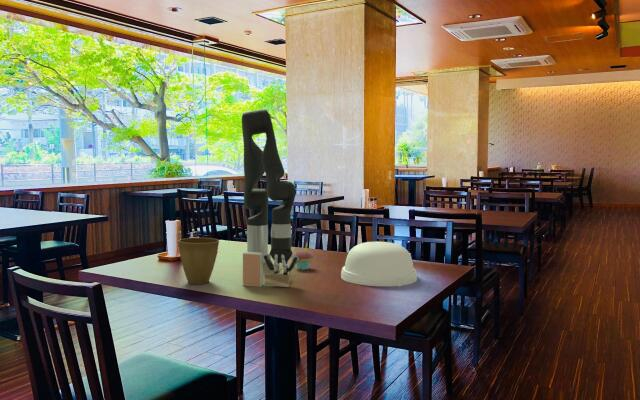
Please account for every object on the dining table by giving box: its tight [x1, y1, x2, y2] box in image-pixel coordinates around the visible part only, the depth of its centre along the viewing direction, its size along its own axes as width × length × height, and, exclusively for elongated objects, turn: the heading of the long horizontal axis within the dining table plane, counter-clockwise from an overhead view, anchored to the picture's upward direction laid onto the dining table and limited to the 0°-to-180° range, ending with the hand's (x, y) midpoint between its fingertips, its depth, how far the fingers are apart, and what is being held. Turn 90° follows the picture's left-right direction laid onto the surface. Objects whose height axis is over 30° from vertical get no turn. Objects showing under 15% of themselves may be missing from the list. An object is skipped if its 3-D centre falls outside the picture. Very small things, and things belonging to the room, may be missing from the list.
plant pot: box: [177, 237, 220, 285], centre depth 195 cm, size 15×15×16 cm
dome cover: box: [340, 241, 418, 287], centre depth 206 cm, size 32×30×14 cm
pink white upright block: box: [242, 251, 264, 287], centre depth 191 cm, size 3×7×12 cm, turn 77°
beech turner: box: [264, 269, 291, 288], centre depth 194 cm, size 14×9×4 cm, turn 167°
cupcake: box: [294, 240, 314, 271], centre depth 222 cm, size 9×8×12 cm
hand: (281, 281), depth 193 cm, fingers closed on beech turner, 2 cm apart
